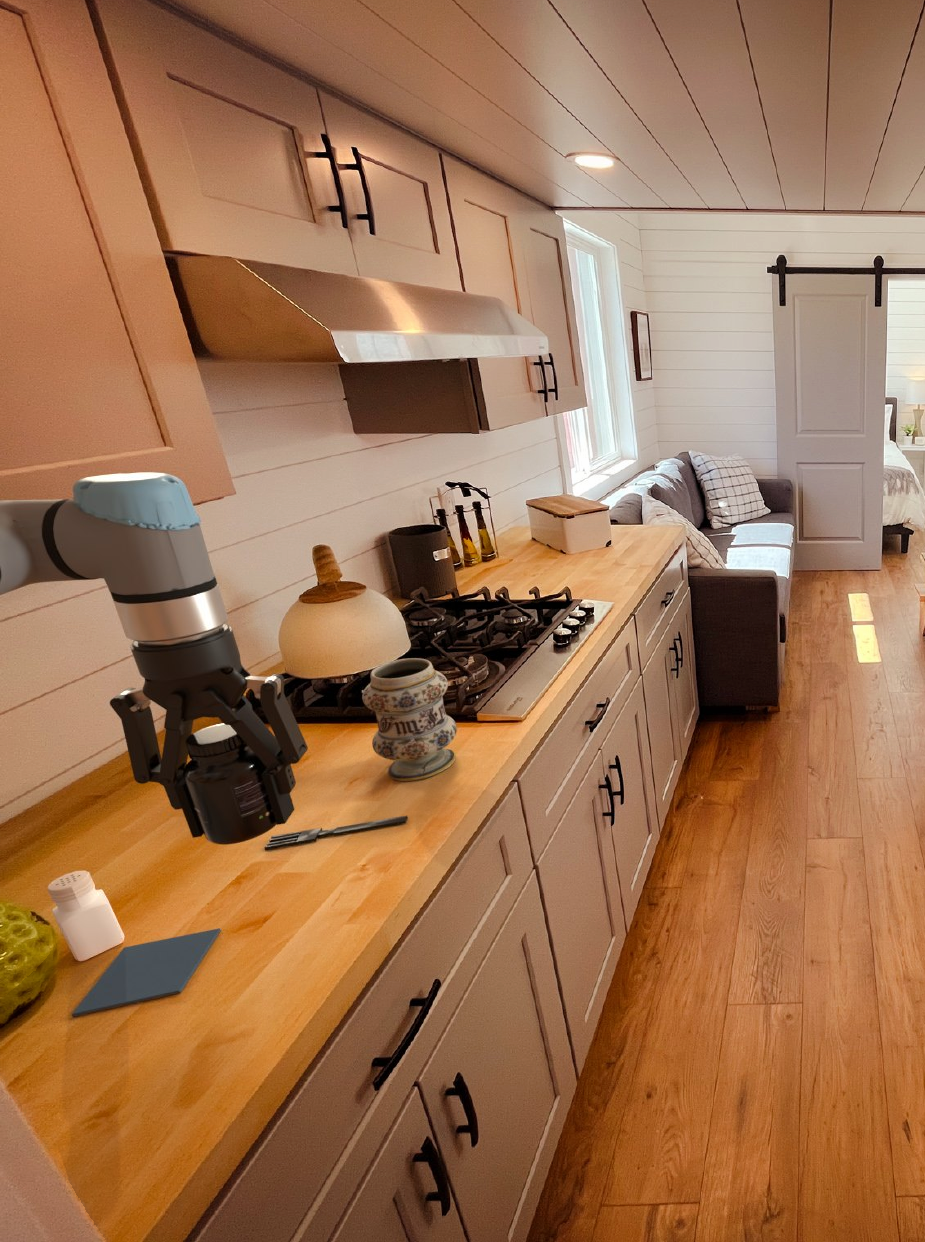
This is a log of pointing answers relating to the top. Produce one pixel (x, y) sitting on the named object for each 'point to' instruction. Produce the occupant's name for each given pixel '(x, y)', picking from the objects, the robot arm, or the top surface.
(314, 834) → the fork
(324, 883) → the top surface
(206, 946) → the dark blue square coaster
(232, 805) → the supplement bottle
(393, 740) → the apothecary jar
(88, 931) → the pepper shaker
